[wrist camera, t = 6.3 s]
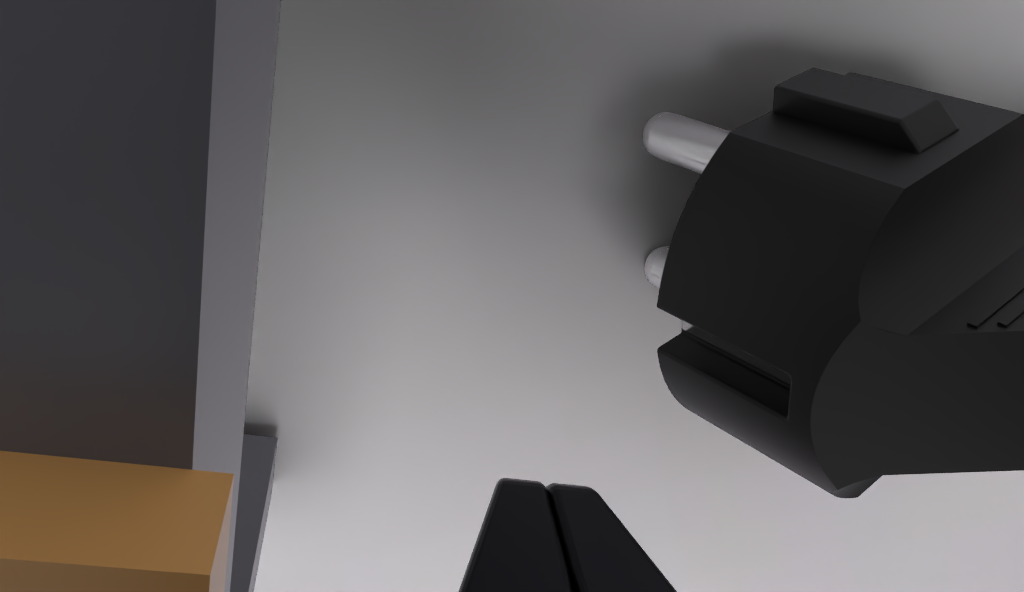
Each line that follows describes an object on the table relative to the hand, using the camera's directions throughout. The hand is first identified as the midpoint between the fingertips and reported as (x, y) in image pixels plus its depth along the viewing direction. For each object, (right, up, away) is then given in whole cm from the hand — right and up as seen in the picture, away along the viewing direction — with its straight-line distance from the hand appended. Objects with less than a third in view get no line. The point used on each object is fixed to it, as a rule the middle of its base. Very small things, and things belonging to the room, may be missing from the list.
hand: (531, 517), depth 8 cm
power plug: (+8, +4, +9) cm, 12 cm away
